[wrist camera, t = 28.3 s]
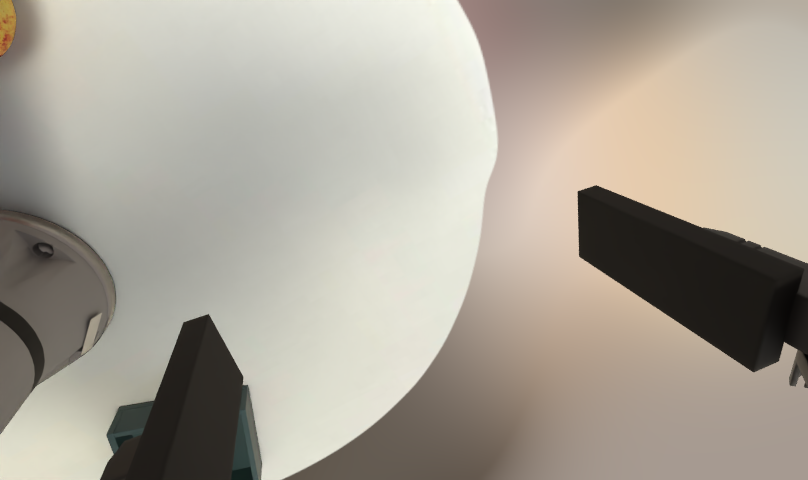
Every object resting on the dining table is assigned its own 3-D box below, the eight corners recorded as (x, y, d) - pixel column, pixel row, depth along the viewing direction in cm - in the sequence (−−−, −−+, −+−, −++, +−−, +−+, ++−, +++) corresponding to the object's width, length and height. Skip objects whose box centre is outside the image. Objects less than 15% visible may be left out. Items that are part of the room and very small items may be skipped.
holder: (147, 488, 47) (138, 518, 44) (119, 406, 42) (106, 434, 39) (261, 463, 51) (260, 490, 47) (248, 384, 46) (245, 409, 42)
